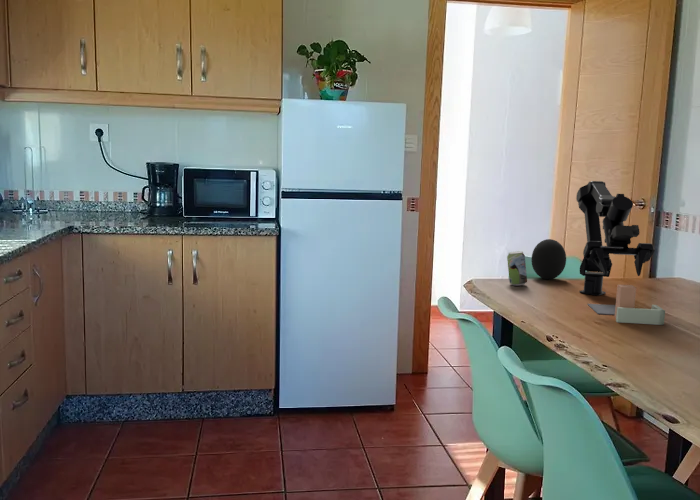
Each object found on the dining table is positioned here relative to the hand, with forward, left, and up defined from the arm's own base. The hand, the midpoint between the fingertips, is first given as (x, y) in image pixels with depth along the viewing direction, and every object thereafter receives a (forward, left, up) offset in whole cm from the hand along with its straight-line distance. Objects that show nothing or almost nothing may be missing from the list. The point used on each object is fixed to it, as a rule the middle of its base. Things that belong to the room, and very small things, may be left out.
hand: (622, 274), depth 177 cm
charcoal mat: (-4, -3, -12) cm, 13 cm away
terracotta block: (+4, +3, -12) cm, 13 cm away
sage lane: (+3, +6, -12) cm, 14 cm away
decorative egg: (-36, -39, -12) cm, 54 cm away
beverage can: (-16, -41, -12) cm, 46 cm away
